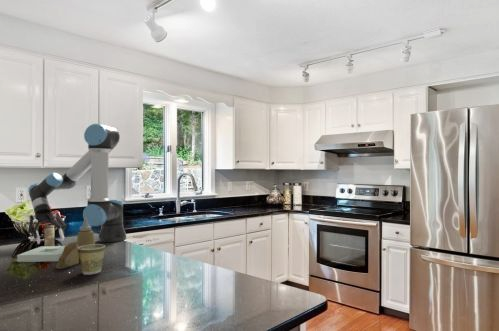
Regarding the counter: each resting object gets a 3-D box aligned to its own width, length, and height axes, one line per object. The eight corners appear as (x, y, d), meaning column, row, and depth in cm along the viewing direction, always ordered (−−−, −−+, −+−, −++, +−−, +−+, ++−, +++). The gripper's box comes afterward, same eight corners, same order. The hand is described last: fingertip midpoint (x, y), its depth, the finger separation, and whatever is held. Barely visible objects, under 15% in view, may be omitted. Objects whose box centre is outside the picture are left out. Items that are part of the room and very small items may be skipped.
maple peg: (56, 248, 188) (56, 224, 189) (51, 249, 184) (51, 226, 184) (47, 248, 188) (47, 225, 189) (42, 250, 184) (42, 226, 184)
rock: (58, 265, 144) (84, 257, 151) (51, 247, 147) (77, 240, 154) (54, 277, 151) (79, 269, 157) (48, 259, 154) (73, 251, 161)
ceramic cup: (95, 276, 136) (94, 249, 136) (71, 275, 138) (71, 249, 138) (114, 267, 149) (114, 242, 149) (93, 266, 151) (92, 242, 151)
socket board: (77, 252, 178) (77, 245, 178) (58, 261, 160) (58, 254, 160) (40, 252, 178) (40, 246, 178) (17, 261, 160) (17, 255, 160)
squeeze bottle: (98, 256, 169) (98, 217, 169) (89, 260, 161) (89, 219, 161) (82, 255, 170) (82, 217, 170) (72, 260, 162) (72, 219, 162)
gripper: (62, 210, 205) (73, 241, 194) (15, 214, 189) (24, 249, 178) (66, 201, 202) (76, 233, 190) (18, 205, 185) (27, 239, 174)
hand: (51, 240), depth 184 cm, fingers open, 10 cm apart
